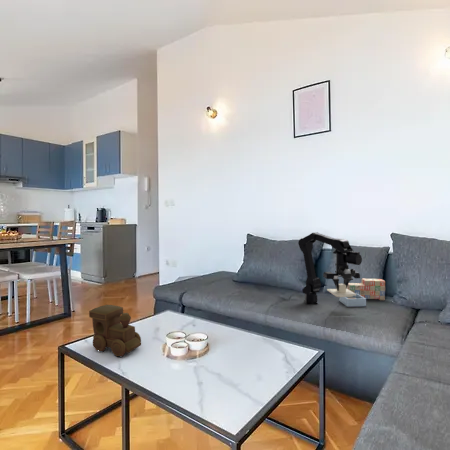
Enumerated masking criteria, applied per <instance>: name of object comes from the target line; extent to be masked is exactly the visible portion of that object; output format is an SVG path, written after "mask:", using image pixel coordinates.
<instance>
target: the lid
mask: <svg viewBox="0 0 450 450" xmlns="http://www.w3.org/2000/svg"><path fill="white" fill-rule="evenodd" d="M326 291H327V292H329V293H330V294H332V295H333V296H334V297H336V298H340V297H353V296H356V294H355V293H354V292H352V291H350V290H348V289H347V288H346V285H345V284H344V282H343V283H339V291H337V289H336V288H326Z"/></svg>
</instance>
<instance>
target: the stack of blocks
mask: <svg viewBox="0 0 450 450" xmlns="http://www.w3.org/2000/svg"><path fill="white" fill-rule="evenodd" d="M346 289H348V290H350V291H352V292H354V293H355V294H359V295H361V296H362V297H364V298H366V300H379V301H385V298H386V281H385V280H384V279H381V278H361V282H357V283H356V282H349V283H348V286H347V288H346Z"/></svg>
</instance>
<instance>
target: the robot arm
mask: <svg viewBox="0 0 450 450" xmlns="http://www.w3.org/2000/svg"><path fill="white" fill-rule="evenodd" d="M316 242H320V243H324V244H326V245H329V246H331V247H332V248H333V249H335V250H334V251H333V252H332V254H334V255H336V259H335V260H336V263H334V264H335V265H334V266H335V273H334V272H331V271H324V272H323V273H322V274H323V275H322V276H323V277H324V279H327V280H332V282H333V283H334V286H335V289H337V291H339V284H340V283H339V281H340V278H342V279H343V284H345V285H346V289H347V286H348V283H351V281H352V280H354V279H360V278H361V274H360V272H358V271H356V269H354V268H349V264H350V265H354V266H355V265H356V266H360V265H361V264H362V261H363V258H362V254H360V252H359V251H354V248H352V246H351V244H350V242H349V240H348V239H346V238H334V237H332V236H328V235H326V234H323V233H319V232H318V231H317V232H316V231H315V232H311V233H310V234H308V235H306V236H304V237H303V238H302V237H301V238H299V240H298V243H297V244H298V246H299V250H300V251H301V252H302V255H303V259H304V265H305V271H306V281H305V286H304V287H303V288H302V293H303V294H304V300H303V302H304V303H305V304H306V305H317V304H318V295H317V293H319V292H320V289H321V286H322V283H321V278H320V277H317V274H316V269H315V264H314V259H313V253H312V251H313V248H314V244H315V243H316ZM353 278H354V279H353Z"/></svg>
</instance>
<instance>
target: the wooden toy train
mask: <svg viewBox="0 0 450 450" xmlns="http://www.w3.org/2000/svg"><path fill="white" fill-rule="evenodd" d="M88 314H89V315H88V318H91V319H92V330H93V336H92V337H93V340H92V346H93V348H94V349H95V350H96V351H97V350H99V351H102V352H104V351H105V350H106V348H108V349H111V352H112V354H113V355H114V356H115V355H116V356H115V357H117V356H122V357H124V355H125V354H126V353H130V352H132V351H134V350H136V349H138V348H139V347H141V346H142V337H141V335H140V334H139V333H138V332H136V326H134V325H131V324H130V322H131V320H132V316H131V315H130V314H129V313H128V312H124V307H122V306H119V305H114V304H105V305H100V306H97V307H94V308H92V309H91V310H89V311H88Z"/></svg>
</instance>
